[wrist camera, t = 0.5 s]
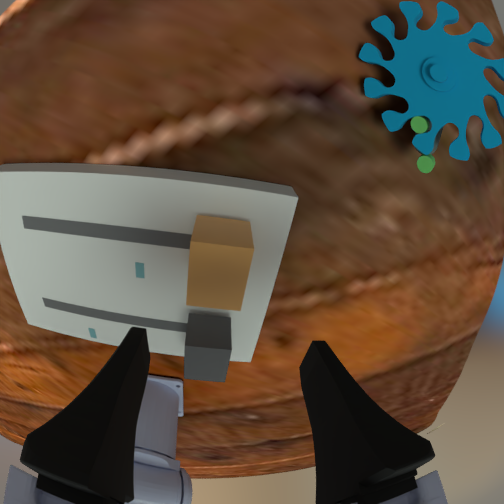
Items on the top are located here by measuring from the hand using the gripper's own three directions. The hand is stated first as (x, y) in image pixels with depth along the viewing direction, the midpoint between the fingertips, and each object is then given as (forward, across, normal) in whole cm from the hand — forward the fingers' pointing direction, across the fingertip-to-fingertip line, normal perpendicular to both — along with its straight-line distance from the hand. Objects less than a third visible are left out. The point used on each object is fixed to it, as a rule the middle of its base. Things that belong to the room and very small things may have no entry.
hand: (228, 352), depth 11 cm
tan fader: (+7, +1, -1) cm, 7 cm away
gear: (+9, -10, -14) cm, 19 cm away
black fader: (+7, +1, +6) cm, 9 cm away
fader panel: (+9, +8, +2) cm, 12 cm away
